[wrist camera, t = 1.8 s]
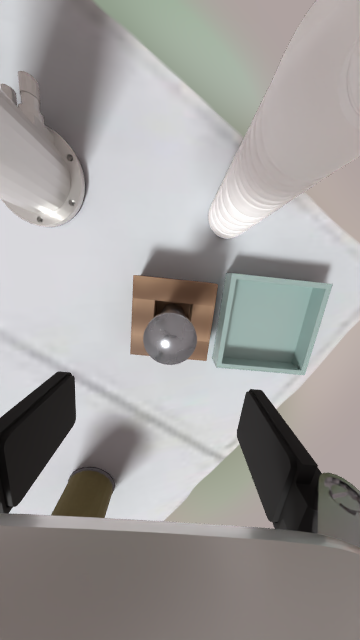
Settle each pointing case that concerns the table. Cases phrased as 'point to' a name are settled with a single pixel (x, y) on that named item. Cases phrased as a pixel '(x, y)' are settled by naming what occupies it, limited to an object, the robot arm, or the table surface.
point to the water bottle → (298, 121)
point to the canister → (86, 494)
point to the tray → (268, 323)
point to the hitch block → (164, 291)
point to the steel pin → (170, 336)
